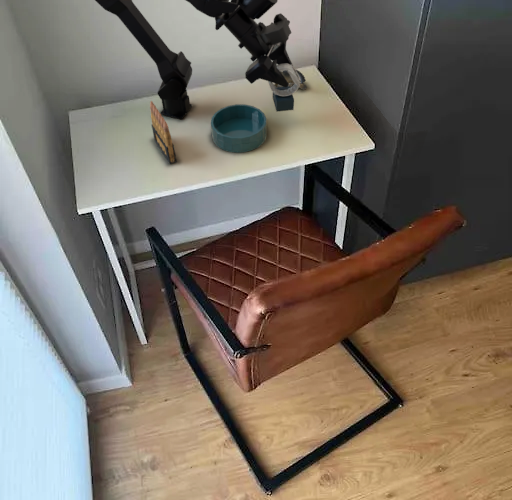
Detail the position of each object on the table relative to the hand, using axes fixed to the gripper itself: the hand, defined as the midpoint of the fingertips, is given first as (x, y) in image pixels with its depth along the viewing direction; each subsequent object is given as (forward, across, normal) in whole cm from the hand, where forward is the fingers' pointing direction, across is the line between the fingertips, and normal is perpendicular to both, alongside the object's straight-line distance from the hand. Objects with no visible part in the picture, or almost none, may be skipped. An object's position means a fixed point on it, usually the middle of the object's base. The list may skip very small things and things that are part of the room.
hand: (290, 79), depth 140 cm
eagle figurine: (+6, +15, +12) cm, 20 cm away
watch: (+4, 0, +6) cm, 8 cm away
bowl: (+2, -8, +17) cm, 19 cm away
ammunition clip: (-10, -19, +29) cm, 36 cm away
